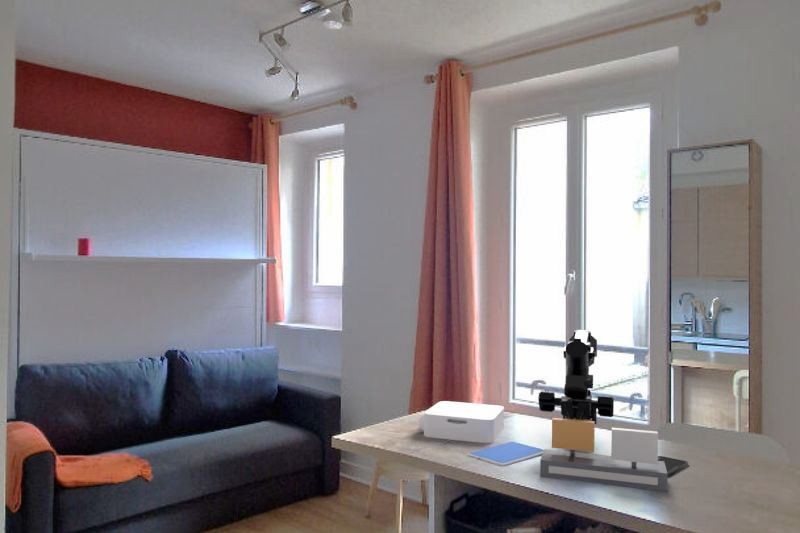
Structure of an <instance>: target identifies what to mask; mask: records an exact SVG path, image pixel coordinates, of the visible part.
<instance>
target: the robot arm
mask: <svg viewBox="0 0 800 533" xmlns="http://www.w3.org/2000/svg"><path fill="white" fill-rule="evenodd" d="M595 357H598V340H597V339H596V338H595V337H594V336H593V335H592V331H590V330H587V329H576V330H573V335H572V336H571V337H570V338H569V340H568V342H567V344H566V345H565V346H564V348H563V359H565V361H566V362H565V363H566V376H565V384H564V387H563V388H564V389H563V394H564V395H563V396H561V397H556V394H555V393H556V392H555V391H544V390H542V391H540V392H539V393H538V396H537V398H538V406H539V407H538V408H539V409H538V410H539V411H541V412H545V413H546V412H547V413H553V411H555V410H556V407H560V414H561V416H562V419H573V420H585V421H595V425H597V419H598V418H597V416H598V415H599V416H600V417H606V418H613V417H614V409H615V408H614V404H615V403H614V402H615V401H614V398H613V397H612V396H610V395H597V400H595V399H593V398H592V392H591V390H592V389H593V388H594V374H590V367H591V366H592V365H594V364H595V359H596V358H595ZM590 389H591V390H590ZM597 414H598V415H597Z"/></svg>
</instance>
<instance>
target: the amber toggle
mask: <svg viewBox="0 0 800 533" xmlns="http://www.w3.org/2000/svg"><path fill="white" fill-rule="evenodd" d="M595 427H596V424H595V421H585V420H573V419H563V417H562V418H560V417H552V419H551V449H557V450H558V449H559V450H569V452H570V454H575V452H576V451H579V452H586V453H587V452H589V453H595V432H596V431H595V430H596V429H595Z"/></svg>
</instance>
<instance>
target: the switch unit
mask: <svg viewBox="0 0 800 533" xmlns="http://www.w3.org/2000/svg"><path fill="white" fill-rule="evenodd" d="M543 450H544V452H543V454H542V455H541V457H540V460H539V462H540V463H539V464H540V465H539V466H540V467H539V472H540V473H539V477H541V478H550V479H557V480H559V479H560V480H565V481H567V480H568V481H576V482H584V483H593V484H599V485H600V484H602V485H609V486H618V487H627V488H635V489H643V490H644V489H645V490H653V491H661V492H668V477H667V470H666V466H665V463H664V461H658V464H649V463H639V462H636V466H632V462H630V461H620V460H611V455H607V454H605V455H604V454H596V453H587V452H577V451H575V454H570V451H566V450H560V449H559V450H558V449H557V450H556V449H550V448H549V449H547V448H544V449H543Z"/></svg>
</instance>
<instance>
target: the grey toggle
mask: <svg viewBox="0 0 800 533" xmlns="http://www.w3.org/2000/svg"><path fill="white" fill-rule="evenodd" d="M658 445H659V433H658V431H656V430H655V431H654V430H645V429H644V430H642V429H632V428H621V427H611V447H610V448H611V454H610V456H611V460H620V461H630V462H632V466H636V462H639V463H649V464H658V456H659V452H658V450H659V447H658Z"/></svg>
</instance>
